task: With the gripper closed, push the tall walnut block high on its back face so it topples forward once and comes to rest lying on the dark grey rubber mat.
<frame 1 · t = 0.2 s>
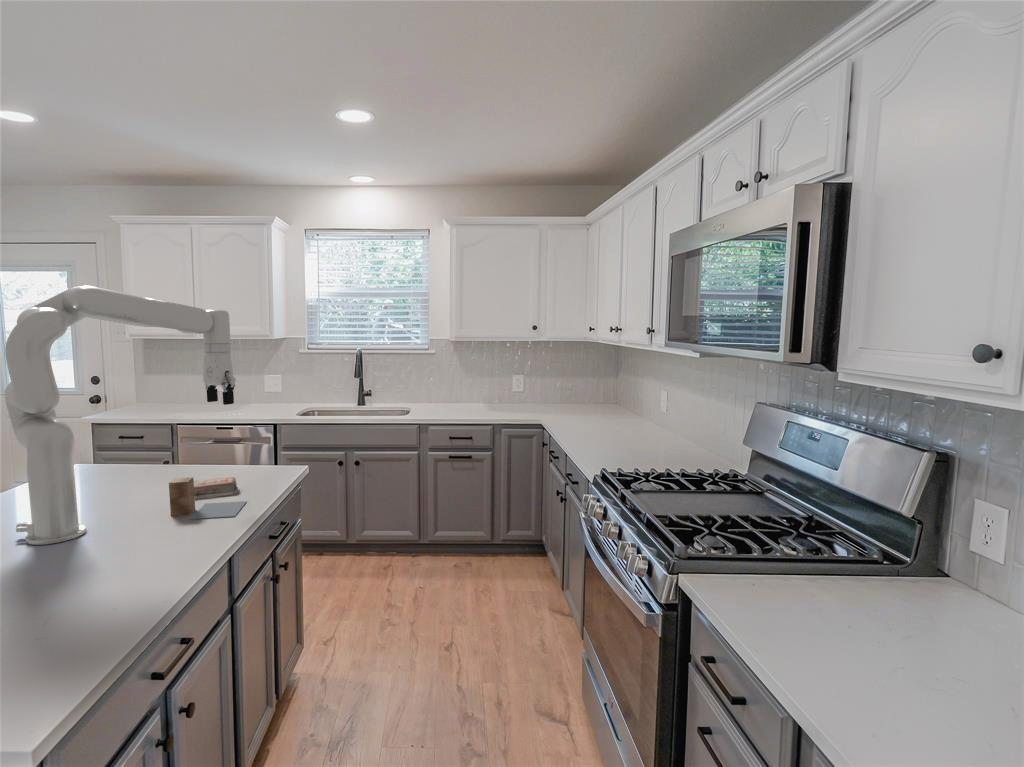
hand: (220, 402, 183), 31 cm above the countertop, tool pointing down, fingers open, 9 cm apart
walnut block: (183, 512, 170), on the countertop
rubber mat: (219, 510, 172), on the countertop
packaged product: (206, 495, 189), on the countertop
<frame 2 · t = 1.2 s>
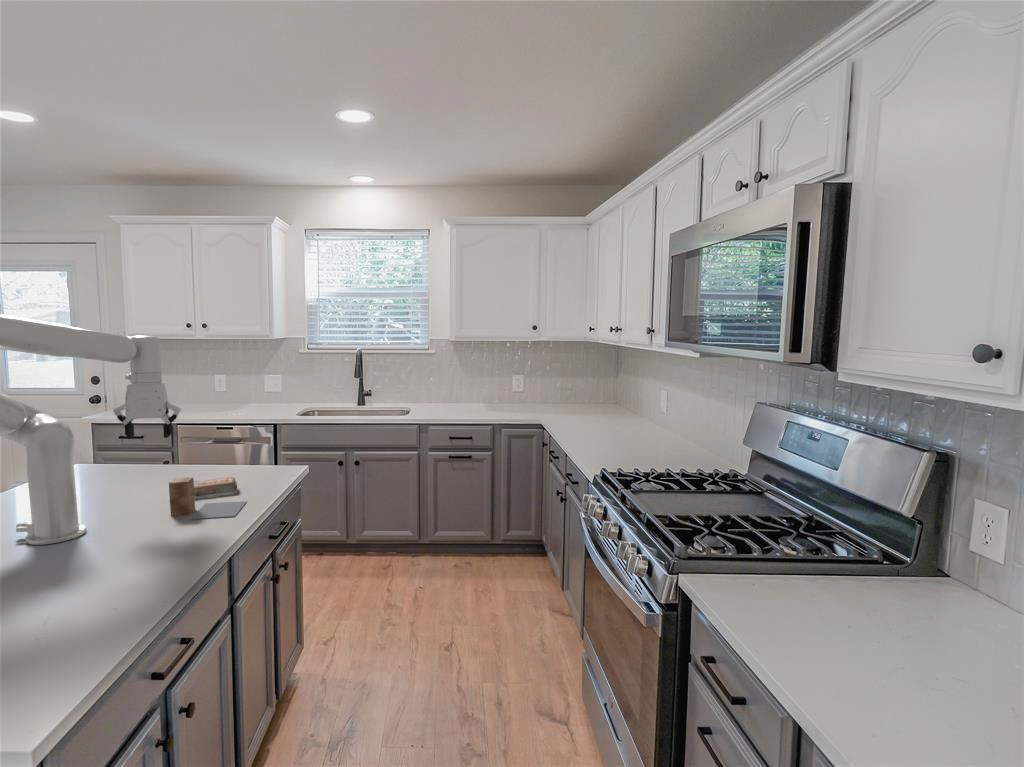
hand: (148, 437, 166), 23 cm above the countertop, tool pointing down, fingers open, 9 cm apart
nothing on the countertop moved.
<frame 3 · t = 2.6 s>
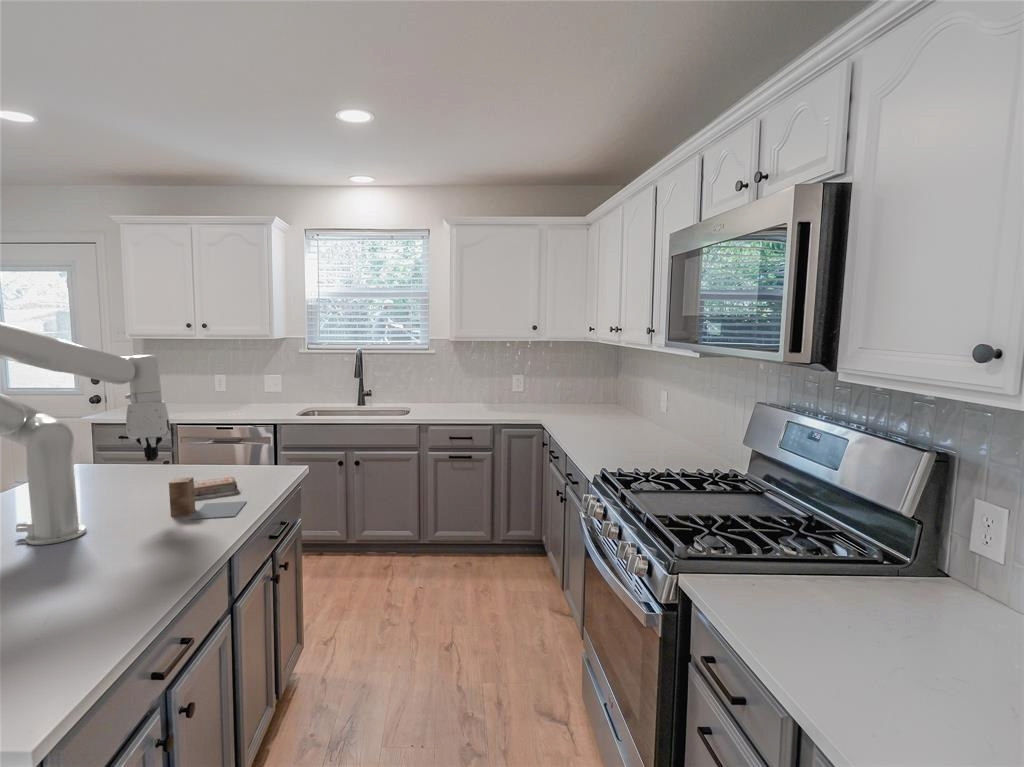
hand: (151, 459, 167), 16 cm above the countertop, tool pointing down, fingers closed
nothing on the countertop moved.
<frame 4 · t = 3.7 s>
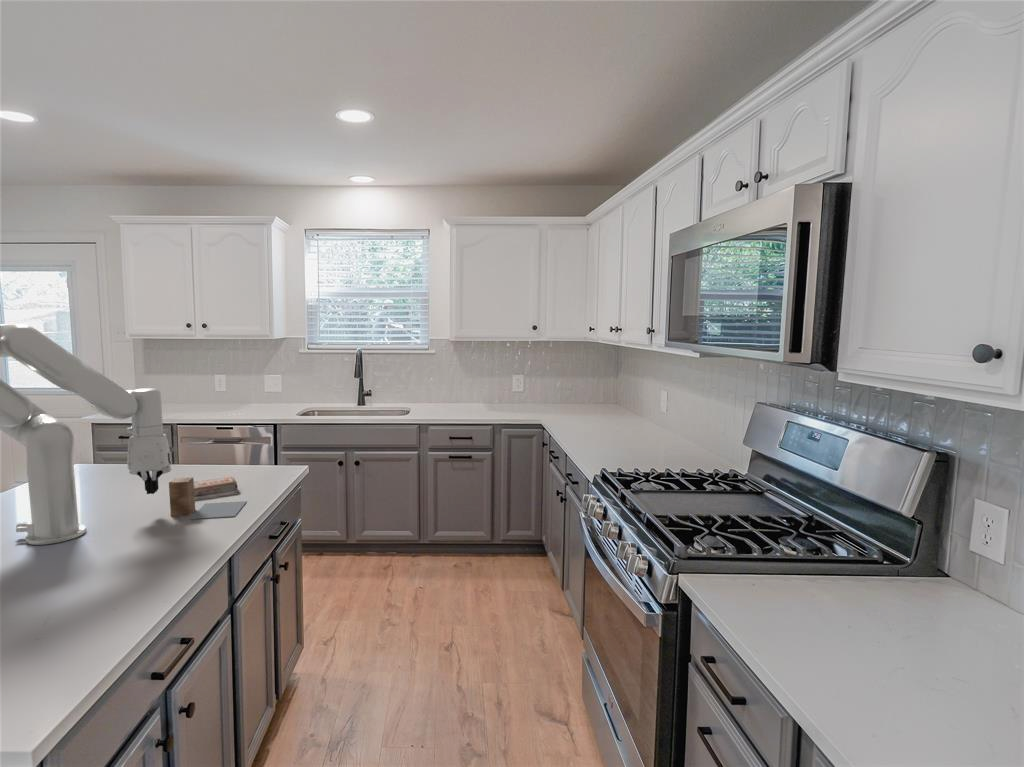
hand: (152, 492, 168), 7 cm above the countertop, tool pointing down, fingers closed
nothing on the countertop moved.
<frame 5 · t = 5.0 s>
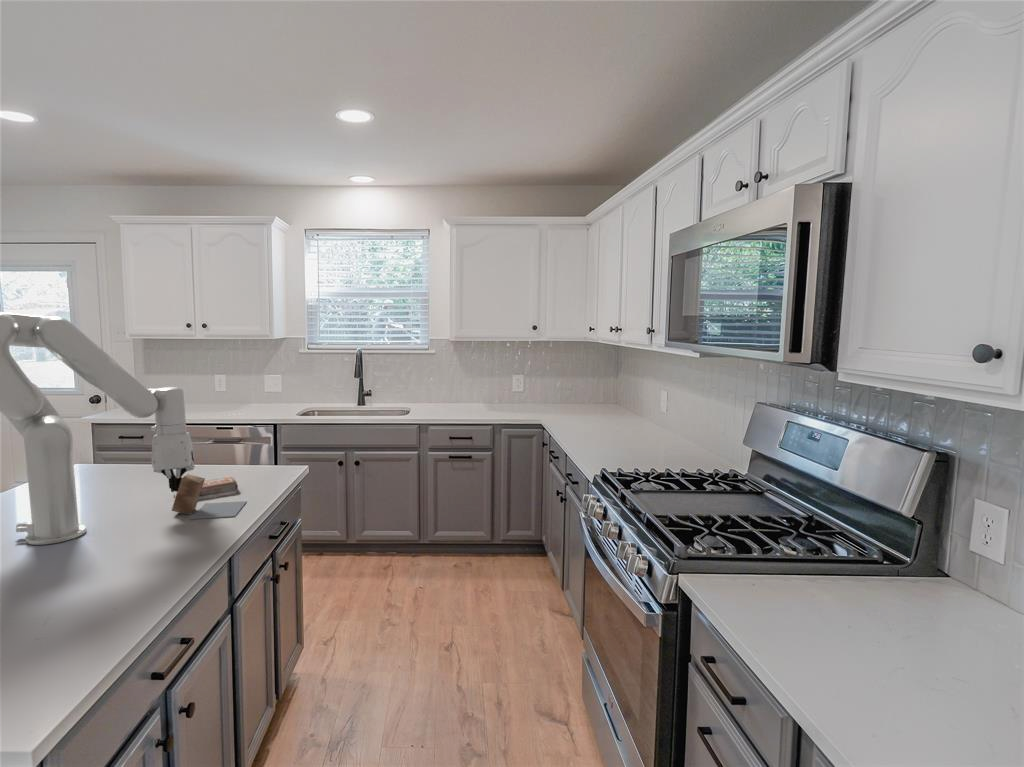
hand: (176, 490, 169), 7 cm above the countertop, tool pointing down, fingers closed
walnut block: (183, 510, 170), point 1 cm above the countertop, tilted 19°, touching gripper
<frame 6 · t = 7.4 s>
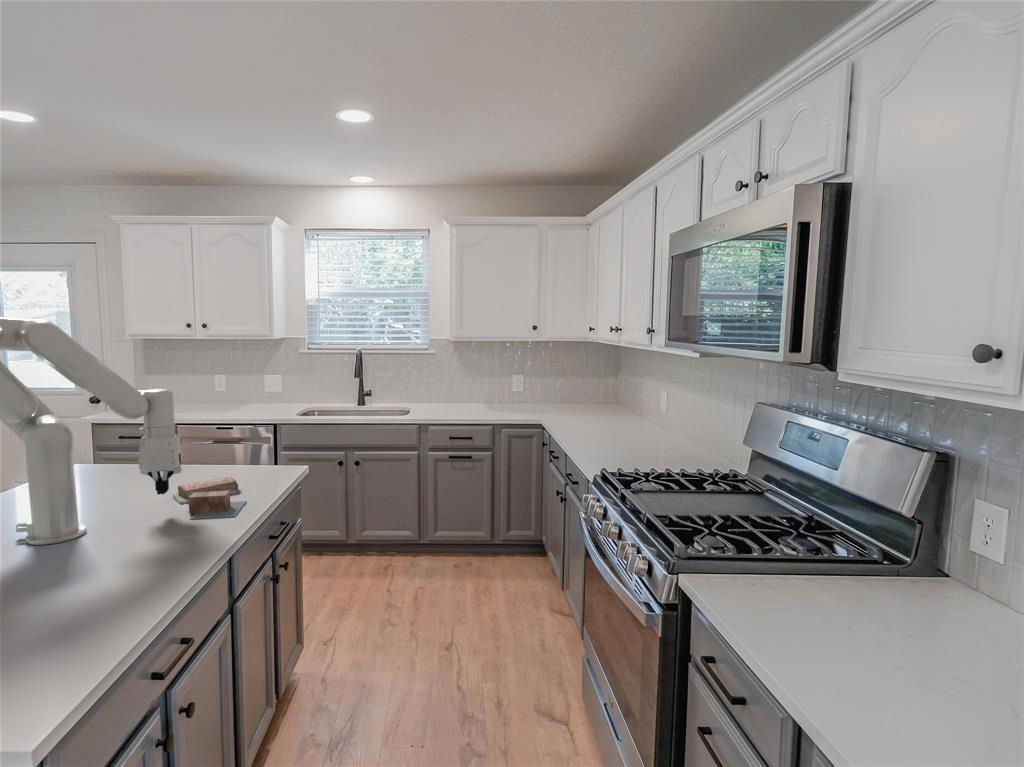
hand: (162, 492, 168), 6 cm above the countertop, tool pointing down, fingers closed
walnut block: (191, 503, 170), point 3 cm above the countertop, tilted 90°, touching rubber mat
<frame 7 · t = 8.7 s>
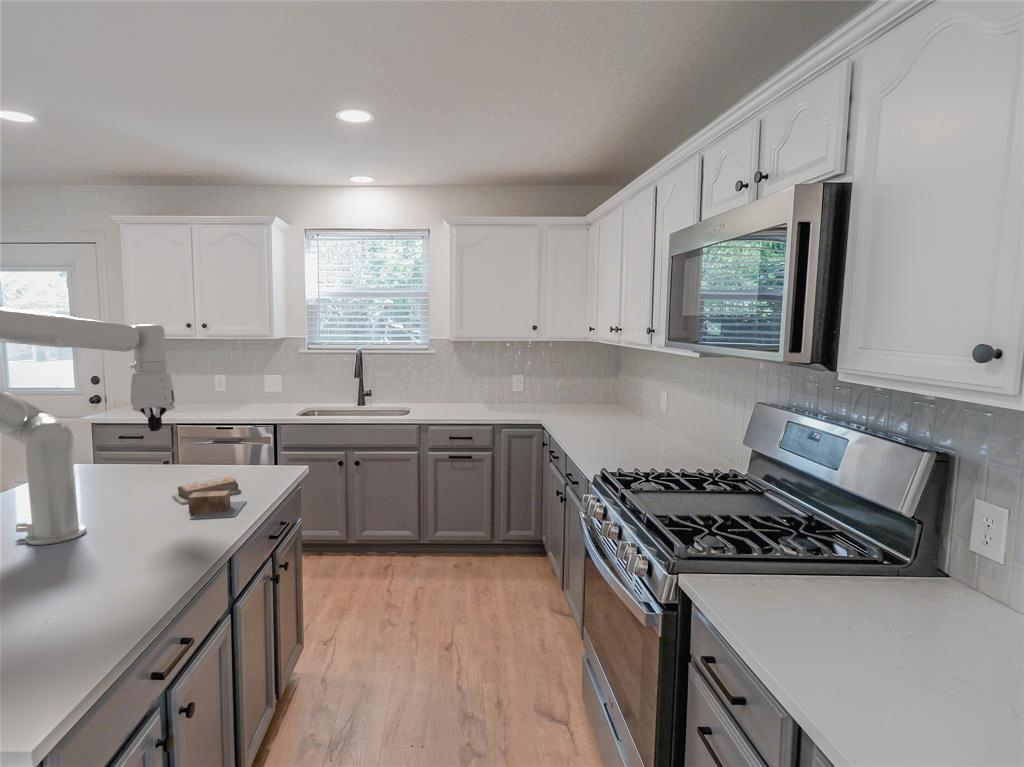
hand: (155, 430, 166), 25 cm above the countertop, tool pointing down, fingers closed
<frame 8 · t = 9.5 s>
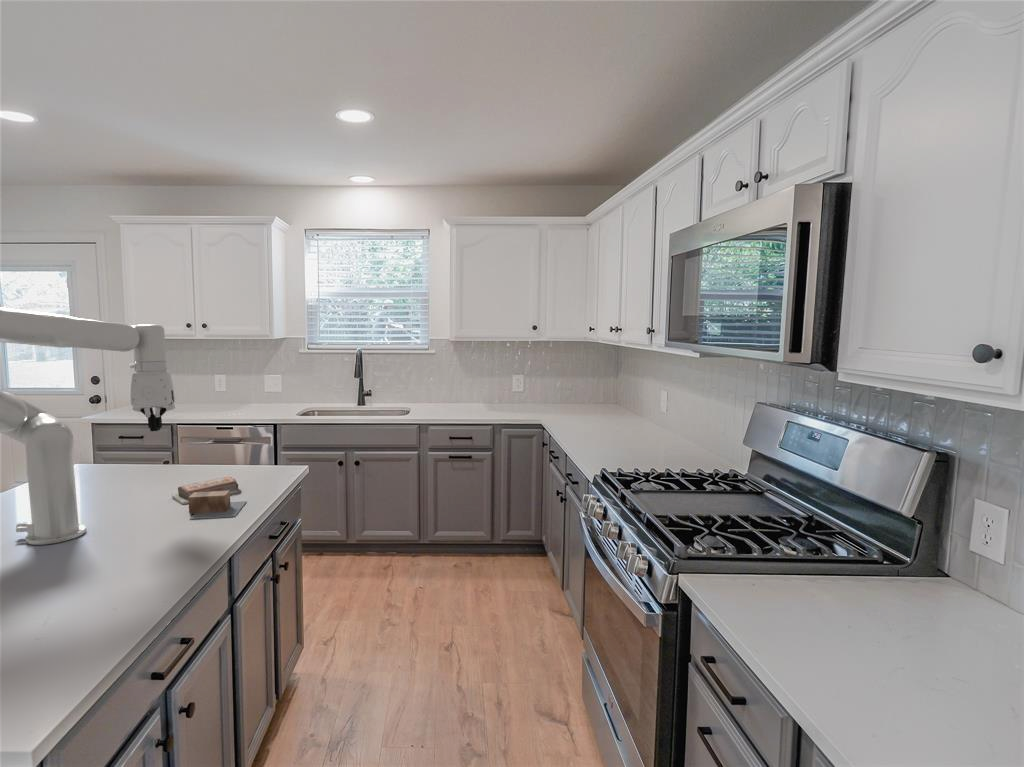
hand: (155, 430, 166), 25 cm above the countertop, tool pointing down, fingers closed
at the end: walnut block tilted 90°; walnut block touching rubber mat; walnut block inside the target area (0.1 cm from its centre), point 2.8 cm above the countertop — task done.
